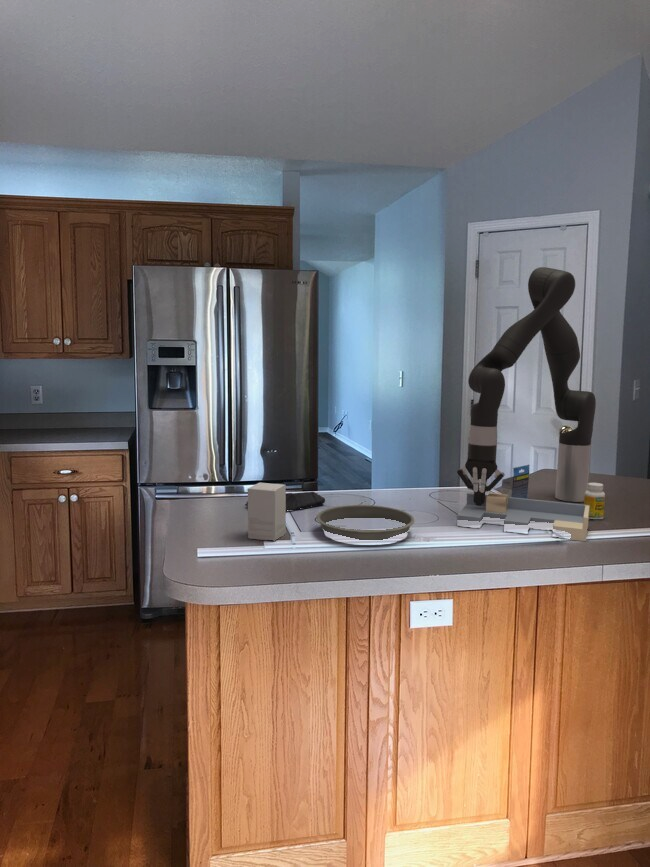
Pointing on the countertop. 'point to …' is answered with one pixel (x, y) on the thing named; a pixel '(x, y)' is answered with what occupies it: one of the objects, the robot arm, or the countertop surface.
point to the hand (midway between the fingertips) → (478, 504)
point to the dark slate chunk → (302, 500)
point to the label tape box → (517, 483)
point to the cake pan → (365, 512)
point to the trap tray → (534, 514)
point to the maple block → (496, 503)
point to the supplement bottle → (595, 500)
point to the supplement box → (266, 511)
